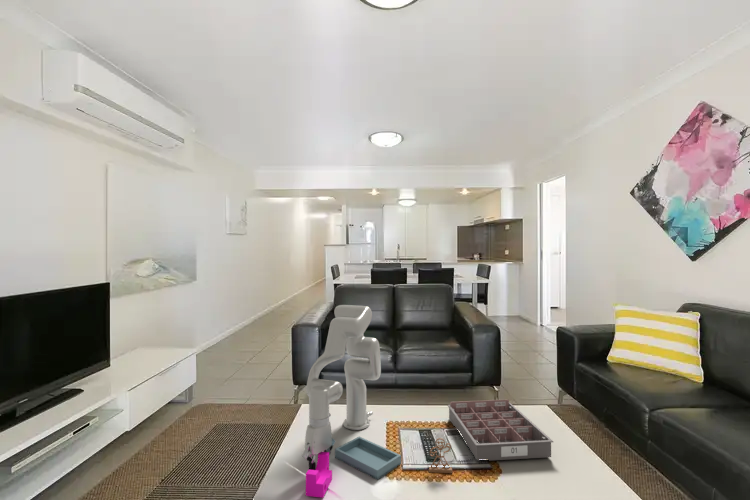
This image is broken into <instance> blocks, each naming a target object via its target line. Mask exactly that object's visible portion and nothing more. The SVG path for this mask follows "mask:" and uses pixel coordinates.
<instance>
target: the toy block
mask: <svg viewBox="0 0 750 500" xmlns="http://www.w3.org/2000/svg"><path fill="white" fill-rule="evenodd" d="M332 480H333V469H332V470H331V469H330V455H329V452H324V451H322V452H320V453H318V454H317V461H316V469H315V470H309V468H308V469H307V471H306V473H305V496H306V497H313V498H315V497H316V498H320V499H321V498H324V497H325V494H327V491H328V489H329V486H330V485H331V483H332Z"/></svg>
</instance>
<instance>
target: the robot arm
mask: <svg viewBox="0 0 750 500" xmlns="http://www.w3.org/2000/svg"><path fill="white" fill-rule="evenodd" d="M333 314H334V318H333V319H332V320H331V321H330V323H329V329H328V333H327V338H326V341H325V342H326V343H325V347H324V351H323V353H322V354H321V355H320V356H319V357H318V358H317V359H316V360H315V361H314V363H313V364H312V366H311V368H310V370H309V372H308V377H307V381H306V388H305V389H306V390H305V391H306V395H307V397H308V406H309V407H308V410H309V412H308V425H307V426H306V430H305V437H304V438H305V439H304V451H302V453H301V456H302V457H303V458H304V459H305V460H306V461H308V469H309V470H315V469H316V465H317V462H316V457H317V455H318V453H320V452H329V456H330V455H331V453H332V452H331V451H332V449H333V447H334V445H335V444H336V440H335V439H334V438H333V432H332V426H331V421H330V417H331V412H330V404H331V403H333V402H336V401H338V400H339V399H340V398H341V396H342V395H343V384H342V383H341V382H339V381H337V380H328V379H322V378H321V379H320V378H319V376H320V373H321V371H322V370H323V368H325V367H326V366H327V365H329V364H331V363H333V362H336V361H338V360H341V359H343V358H344V357H345V356H346V355H345V354H346V353H347V355H348V356H349V357H350V358H347V359H346V360H345V362H344V368H343V369H344V375H345V382H346V384H345V385H346V387H345V388H346V418H345V419H344V420H343V423H342V425H343V427H344V428H346V429H348V430H351V431H352V430H353V431H360V430H363V429H364V430H365V429H366V428H368V427H369V426H370V424H371V423H370V420H369V417H371V416H373V415H374V412H373V411H372V410H370V411H367V386H366V383H365V381H364V380H367V381H377V380H379V378H380V377H381V375H382V374H381V373H382V364H381V349H380V347H381V346H380V342H379V340H378V339H377V338H375V337H371V336H365V335H364V333H365V332H366V330H367V329H368V327H369V326H370V323H371V322H372V318H373V312H372V309H371V308H370V307H369V306H365V305H352V304H339V305H337V306H336V307H335V308H334V313H333Z"/></svg>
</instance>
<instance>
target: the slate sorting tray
mask: <svg viewBox="0 0 750 500" xmlns="http://www.w3.org/2000/svg"><path fill="white" fill-rule="evenodd" d="M334 458H335V459H337V460H339V461H341V462H343V463H344V464H347V465H348V466H350V467H352V468H354V469H356V470H358V471H360V472H362V473H363V474H365V475H367V476H369V477H371V478H372V479H375V480H377V481H378V480H380V479H381V478H383V477H384V476H386V475H387V474H389V473H390V472H392V471H393V470H394V468H395V469H397V468H398V467H399V466H401V465H400V464H402V455H401V454H399V453H397V452H395V451H392V450H390V449H388V448H386V447H384V446H381V445H379V444H377V443H375V442H372V441H370V440H368V439H366V438H364V437H361V436H357V437H356V438H354V439H351V440H350V441H347V442H345V443H343V444H342V445H340V446H338V447H336V448H334ZM398 465H399V466H398ZM397 466H398V467H397Z"/></svg>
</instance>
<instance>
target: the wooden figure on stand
mask: <svg viewBox="0 0 750 500" xmlns="http://www.w3.org/2000/svg"><path fill="white" fill-rule="evenodd" d="M439 440H441V441H439ZM434 443H435V446H434V447H432V448H430V450H429V456H431V457H435V458H434V460H433V461H432V463H431V464H432V465H433V464H434V465H435V466H436V467H432V465H431V467H429V469H428V472H429V473H441V474H443V473H444V474H452V473H453V472H454V471H453V467H449V468H445V466H446V465H448V466H449V465H450V464H449V463H448V461H447V460H446V458H445V455H442V453H443V454H445V453H448V452H449V451H450V450H451V448H452V445H451V443H449V442H447V443H446V441H445V439H444V438H441V437H438V438H437V439H436V440H435V442H434ZM446 448H447V450H445V451H443V450H444V449H446ZM435 449H437V450H438V452H439V455H438V452H437V450H435ZM433 450H435V451H433ZM442 451H443V452H442ZM437 459H439V460H438V462H437V463H435V462H436V460H437ZM442 459H444V462H445V463H443V461H442ZM440 464H441V465H443V466H444V467H442V468H439V467H437V466H438V465H440Z"/></svg>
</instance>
